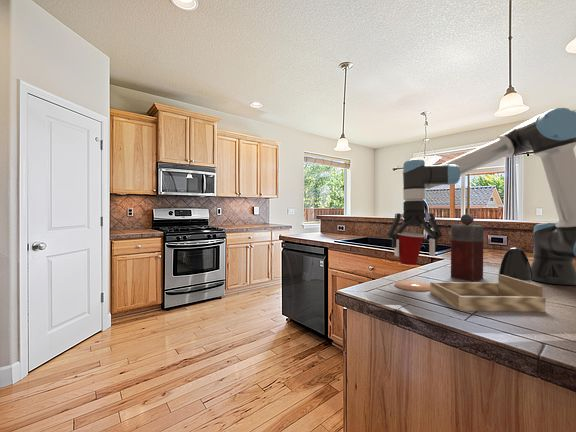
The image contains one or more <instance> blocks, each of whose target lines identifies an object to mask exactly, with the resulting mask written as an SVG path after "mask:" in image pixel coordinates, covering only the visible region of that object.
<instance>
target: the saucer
mask: <svg viewBox="0 0 576 432" xmlns="http://www.w3.org/2000/svg"><path fill="white" fill-rule="evenodd" d="M394 287H396V288H399V289H401V290H406V291H409V292H410V291H411V292H430V282H429V283H428V282H425V281H418V280H405V279H403V280H402V279H401V280H397V281H395V286H394Z"/></svg>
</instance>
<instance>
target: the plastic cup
mask: <svg viewBox="0 0 576 432" xmlns="http://www.w3.org/2000/svg"><path fill="white" fill-rule="evenodd" d="M397 234H398V238H397V239H399V257H398V258H399V262H400V264H401V265H405V266H417V263H418V259H419V255H420V251H421V248H422V243H423V241H424V238H425V237H426V235H425V234H420V233H415V232H406V231H405V232H404V231H402V233H401V234H400V233H397Z"/></svg>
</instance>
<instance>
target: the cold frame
mask: <svg viewBox="0 0 576 432" xmlns="http://www.w3.org/2000/svg"><path fill="white" fill-rule="evenodd" d="M497 280H498V282H492V281H491V282H481V281H480V282H478V281H473V282H472V281H467V282H466V281H465V282H464V281H461V282H460V281H459V282H458V281H455V282H454V281H430V282H429V284H430V291H429V294H431V295H432V296H434V297H436V298H438V299H439V300H441V301H443V302H444V303H446V304H448V305H449V306H452V307H453V308H455V309H456V310H458V311H461V312H468V311H469V312H475V311H476V312H538V313H539V312H541V313H542V312H543V313H545V312H546V297H545V296H543V286H542V285H539V284H535V283H532V282H531V283H529V282H526V281H522V280H519V279H515V278H512V277H508V276H505V275H499V274H498V279H497Z"/></svg>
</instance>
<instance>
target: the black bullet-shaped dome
mask: <svg viewBox="0 0 576 432" xmlns="http://www.w3.org/2000/svg"><path fill="white" fill-rule="evenodd" d="M499 275H505V276H508V277H512V278H515V279H519V280H522V281H526V282H529V283H532V281H533V280H532V271H531V264H530V261H529V258H528V256H527V255H526V253H525V251H524V250H523V249H521V248H519V247H516V246H515V247H513V246H512V247H510V248H508V249H507V250H506V251H505V252H504V254H503V256H502V259H501V262H500V265H499V269H498V276H499Z"/></svg>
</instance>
